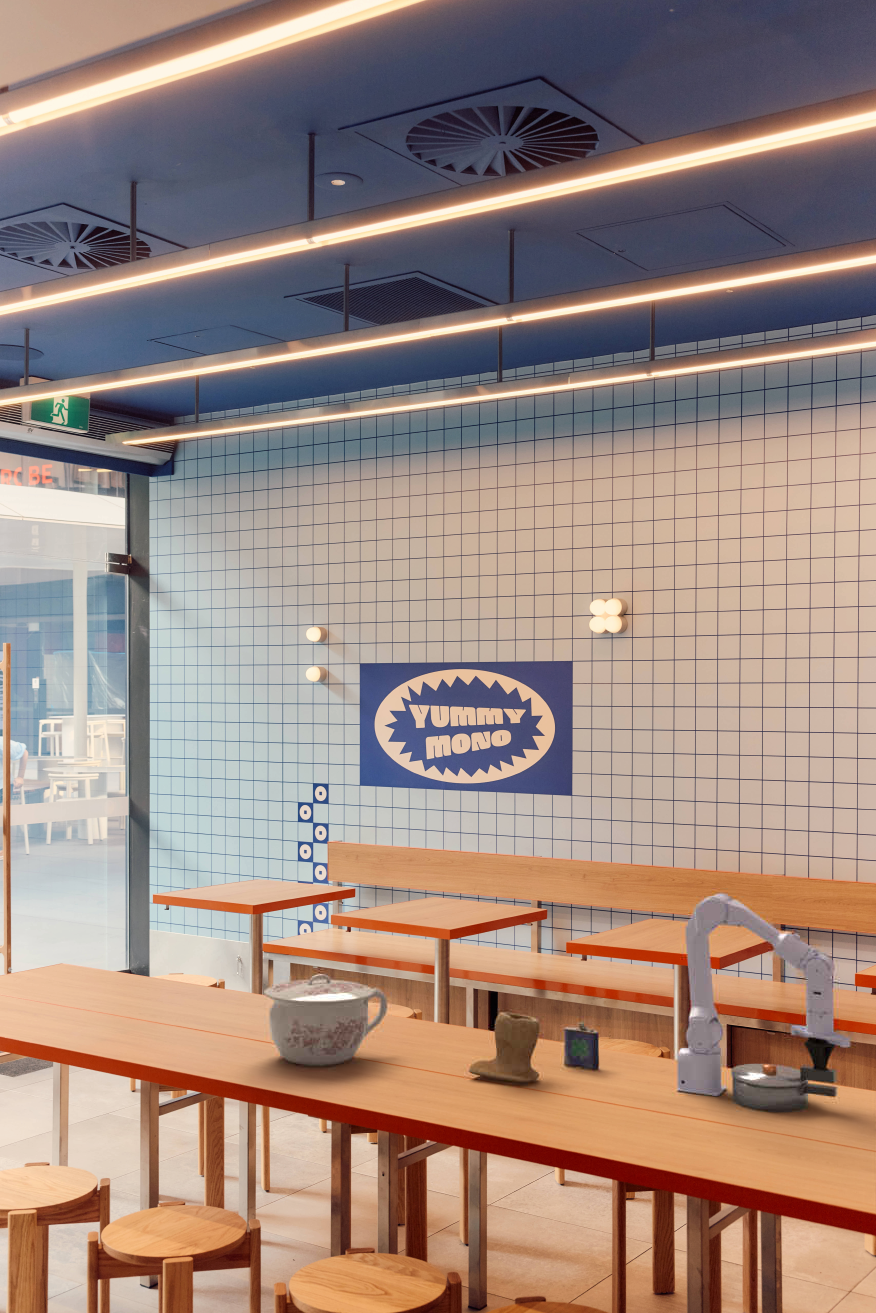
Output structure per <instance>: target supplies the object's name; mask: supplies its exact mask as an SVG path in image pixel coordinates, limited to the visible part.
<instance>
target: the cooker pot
mask: <svg viewBox="0 0 876 1313" xmlns="http://www.w3.org/2000/svg"><path fill="white" fill-rule="evenodd" d="M731 1078H732V1081H731V1082H732V1101H733V1103H734V1104H736V1105H738V1106H740V1107H743V1108H746V1109H750V1110H755V1111H761V1112H767V1113H796V1112H800V1111H804V1110H806V1109H807V1108H808V1106H809V1095H817V1096H824V1097H831V1098H832V1097H833V1098H835V1097H836V1096H837V1095H838V1090H837V1089H838V1087H837V1086H832V1085H826V1084H818V1083H817V1084H816V1083H811V1082H810V1083H809V1082H808V1083H807V1084H805V1085H802V1086H798V1087H786V1088H779V1087H764V1086H757V1085H752V1084H747V1083H744V1082H740V1081H738V1080H736V1079H734V1078H733V1077H732V1076H731Z"/></svg>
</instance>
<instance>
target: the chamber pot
mask: <svg viewBox="0 0 876 1313" xmlns="http://www.w3.org/2000/svg"><path fill="white" fill-rule="evenodd" d="M263 994H264V996H266V997H267V998H268V999H269V998H270V999H271V1000H273V1002H272V1003H273V1004H272V1005H271V1007H270V1008H269V1010H268V1026H269V1029H270V1030H269V1031H270V1036H271V1040H272V1042H273V1043H274V1045H275V1047H276V1048H277V1050H278V1052H279V1054H280V1056H282V1058H283V1059H285V1060H287V1061H289V1062H290V1063H294V1064H296V1065H301V1066H304V1067H305V1066H306V1067H326V1066H327V1067H328V1066H334V1065H339V1064H341V1063H343V1062H346V1061H348V1060H350V1059H352V1058H353V1057H354V1056H355V1054H356V1053H357V1050H359V1048H360V1046H361V1044H362V1042H363V1041H364V1039H365V1038H366V1036H367V1035H369V1033H370V1032H371V1031H372V1030H373V1029H375V1028H376V1027H377V1026H378V1025H379V1024H380V1023H381V1021H382V1020H383V1019H384V1017H385V1016H386V1014H387V1010H388V1000H387V997H386V995H385V993H384V992H383V991H382V990H381V989H379V988H378V987H374V988H372V987H370V986H368V985H365V984H361V983H359V982H353V981H349V980H340V979H331V978H330V976H328V975H325V974H322V973H319V974H315V975H313V976H311V978H310V979H301V980H293V981H287V982H281V983H278V984H275V985H272V986H269V987H267V988H266V989H265V990H263ZM375 997H376V998H378V999H379V1011H378V1013H377V1014H376V1015H375V1017H374V1018H373V1019H372V1021H371V1022H369V1000H371V998H375Z"/></svg>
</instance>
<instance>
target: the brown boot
mask: <svg viewBox="0 0 876 1313" xmlns="http://www.w3.org/2000/svg"><path fill="white" fill-rule="evenodd" d="M539 1034H540V1022H539V1020H538V1019H537V1018H535V1017H533V1016H530V1015H523V1014H519V1013H512V1012H500V1013H499V1014H498V1015H497V1016H496V1019H495V1023H494V1040H495V1047H496V1049H495V1050H496V1054H495V1057H494V1058H493V1059H490V1060H487V1059H486V1060H485V1059H484V1060H478V1061H475V1062H474V1063H471V1065H470V1066H469V1069H468V1072H469V1073H470V1074H473V1075H476V1076H479V1077H485V1078H488V1079H495V1080H501V1081H507V1082H516V1083H517V1082H518V1083H520V1082H521V1083H527V1082H528V1083H530V1082H532V1081H535V1080H537V1079H538V1078H539V1077H540V1074H539V1071H537V1070H536V1069H535V1068H533V1067H532V1064H531V1061H532V1056H533V1053H534V1051H535V1049H536V1046H537V1043H538V1039H539Z"/></svg>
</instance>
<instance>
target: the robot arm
mask: <svg viewBox="0 0 876 1313" xmlns="http://www.w3.org/2000/svg"><path fill="white" fill-rule="evenodd" d="M725 922H726V925H732V926H733V925H736V926H743V927H744V928H746V929H748V930H749V931H751V932H752V933H754V934H755V935H757V936H758V937H760V938H761V939H763V940H765V941H766V942H768V943H769V944H771V945H772V947H773V950H774V954H775V955H777V956H778V957H780V958H781V959H782V960H784V961H785V962H786V963H788V964H790V965H791V966H792V967H794V968H795V969H796V970H798V971H801V972H802V973H803V975H804V978H805V980H806V989H805V1015H806V1016H805V1019H806V1020H805V1022H806V1023H805V1024H806V1025H799V1024H794V1025H790V1035H792V1036H800V1037H803V1038H807V1040H806V1041H804V1046H805V1048H806V1049H807V1051H808V1054H809V1056H810V1058H811V1061H812V1064H813V1065H812V1066H813V1067H821V1068H827V1065H828V1062H829V1059H830V1056H831V1054H832V1053H833V1051H834V1050H835V1048H836V1046H840V1047H841V1048H850V1047H851V1037H849V1036H846V1035H843V1034H841V1033H838V1032H836V1031H834V1025H835V1024H834V990H833V985H834V984H833V978H832V976H833V975H834V974H835V970H836V969H835V968H836V967H835V963H834V961H833V959H832V958H831V957H830V956H829V955H828V954H827V953H824V952H820V949H818V948H817V947H814V948H813V947H812V946H810V945H808V943H806V942H804V940H801V939H800V938H801V935H799V934H798V933H791V932H790V931H789V932H780V931H779V930H778V929H777V928H775V927H774V926H773V925H771V924H769V923H768V922H767V921H766V920H765V919H763V918H762V917H760V916H759V915H758V914H757V913H755V912H754V911H752V909H750V908H748V907H747V906H746V905H745V904H743V903H742V902H741V901H738V900H737V899H733V898H732V897H731V895H729V894H727V893H723V892H721V893H719V892H718V893H716V894H714V895H711V896H707V897H705V898H703V899H702V900H701V901H700V902H698V903H697V904H696V905H695V907H694V911H693V913H692V914H691V916H690V919H689V920H688V922H687V923H686V927H685V929H684V930H685V943H686V954H687V956H686V957H687V968H688V970H687V971H688V981H689V993H690V1005H691V1007H690V1008H691V1009H690V1012H689V1016H688V1028H687V1030H686V1034H685V1039H686V1042H687V1044H688V1045H687V1046H688V1047H681V1048H680V1049H679V1051H678V1056H677V1088H676V1091H678V1092H685V1093H692V1094H698V1095H707V1096H714V1097H718V1096H720V1095H721V1094H722V1093H723V1092H724V1091H725V1090H727V1086H726V1085H722V1048H721V1047H720V1042H721V1041H722V1039H723V1036H724V1028H723V1026H722V1024H721V1022H720V1020H719V1016H718V1011H717V1009H716V1007H715V1004H714V1003H715V1000H714V989H713V977H712V976H713V975H712V965H711V954H710V941H709V935H711V934H712V933H713V931H715V930H716V928H717V927H718V926H719V925H721V924H723V923H725Z"/></svg>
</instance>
